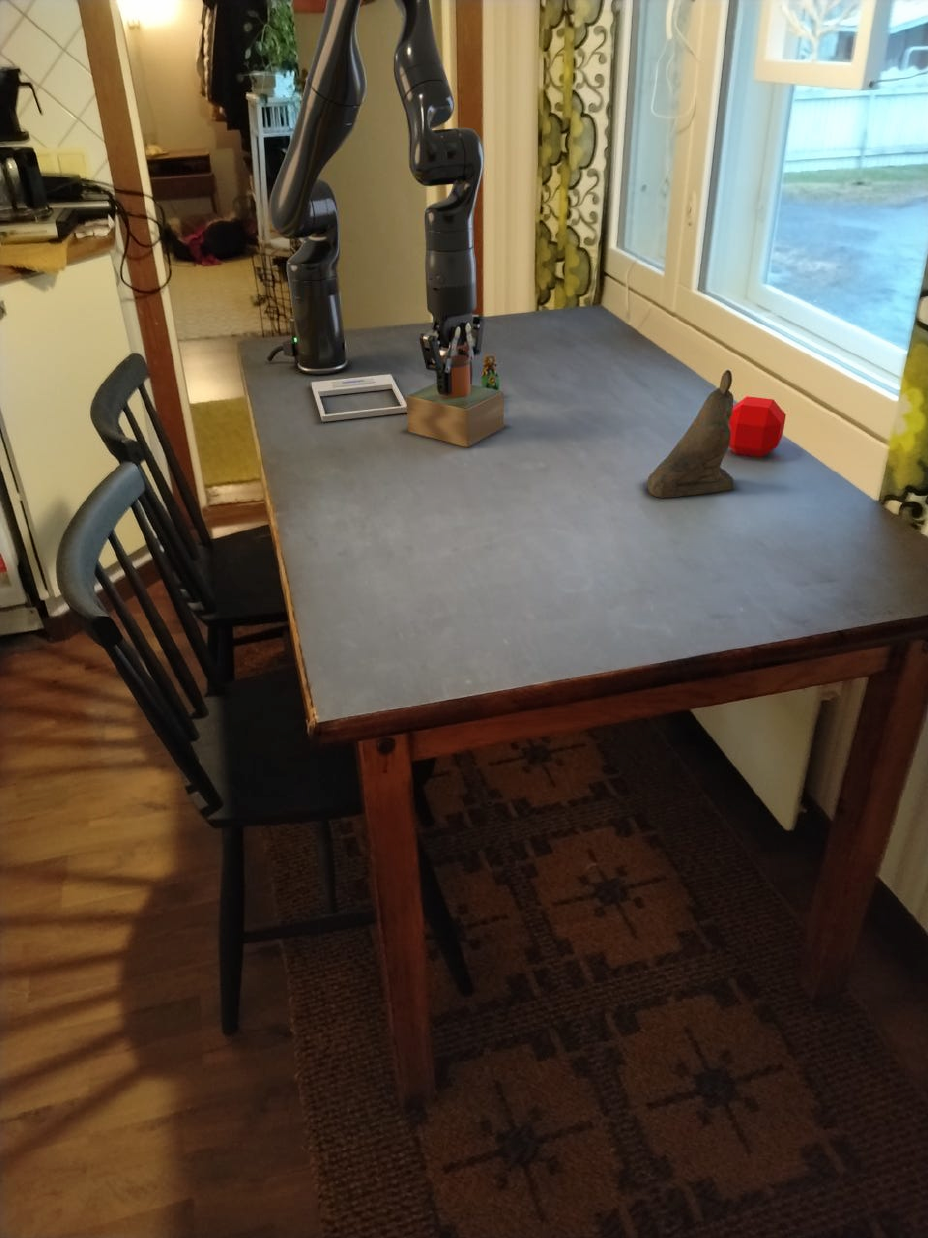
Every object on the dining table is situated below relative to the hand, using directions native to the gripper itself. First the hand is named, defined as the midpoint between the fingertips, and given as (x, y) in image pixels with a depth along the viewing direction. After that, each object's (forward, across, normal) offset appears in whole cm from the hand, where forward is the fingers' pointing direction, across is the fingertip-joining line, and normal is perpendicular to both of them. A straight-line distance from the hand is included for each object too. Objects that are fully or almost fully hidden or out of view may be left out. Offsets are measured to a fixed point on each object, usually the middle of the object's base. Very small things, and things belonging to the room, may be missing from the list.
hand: (455, 388), depth 152 cm
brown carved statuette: (+7, 0, +41) cm, 42 cm away
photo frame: (+7, -2, -23) cm, 24 cm away
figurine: (+7, -14, -3) cm, 16 cm away
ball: (+7, -17, +43) cm, 47 cm away
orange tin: (+1, 0, 0) cm, 1 cm away
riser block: (+7, 0, 0) cm, 7 cm away
